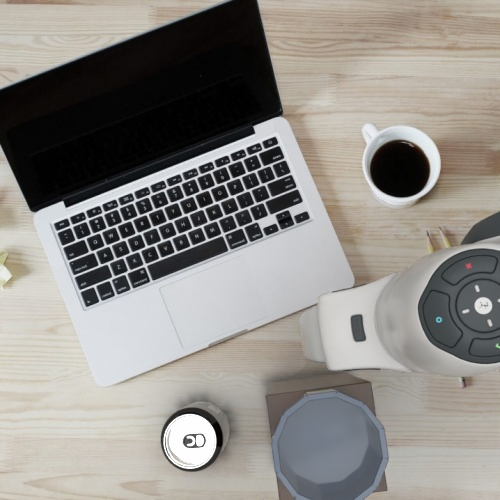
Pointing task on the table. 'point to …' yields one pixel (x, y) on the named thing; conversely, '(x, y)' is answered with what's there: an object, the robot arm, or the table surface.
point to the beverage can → (195, 436)
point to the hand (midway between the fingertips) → (398, 326)
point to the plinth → (291, 389)
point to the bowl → (329, 447)
